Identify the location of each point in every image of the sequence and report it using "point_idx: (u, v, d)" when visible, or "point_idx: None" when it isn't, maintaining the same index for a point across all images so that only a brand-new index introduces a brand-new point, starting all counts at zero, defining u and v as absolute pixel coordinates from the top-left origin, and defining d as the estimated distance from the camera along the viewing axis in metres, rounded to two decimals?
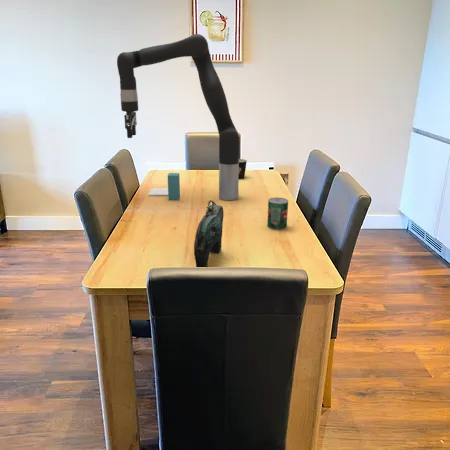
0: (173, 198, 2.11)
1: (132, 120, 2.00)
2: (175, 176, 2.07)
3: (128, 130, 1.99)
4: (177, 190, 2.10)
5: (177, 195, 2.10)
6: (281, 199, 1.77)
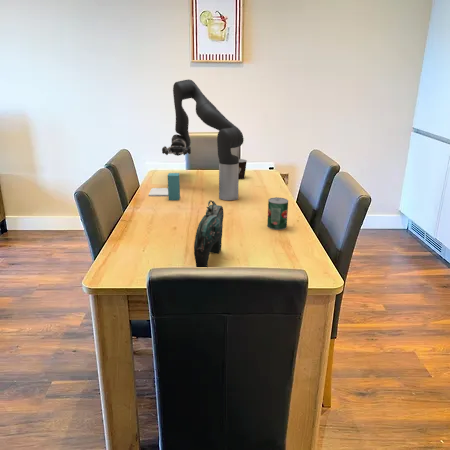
0: (173, 198, 2.11)
1: (170, 147, 2.25)
2: (175, 176, 2.07)
3: (165, 151, 2.21)
4: (177, 190, 2.10)
5: (177, 195, 2.10)
6: (281, 199, 1.77)
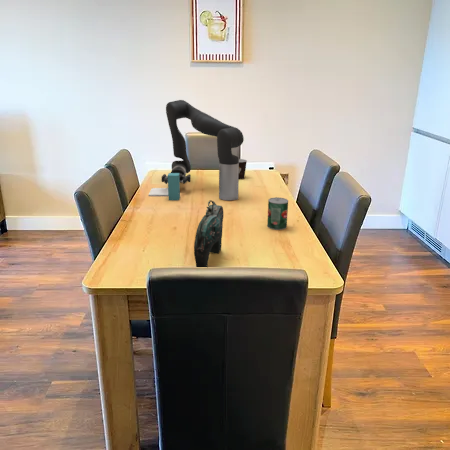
0: (173, 198, 2.11)
1: None
2: (175, 176, 2.07)
3: None
4: (177, 190, 2.10)
5: (177, 195, 2.10)
6: (281, 199, 1.77)
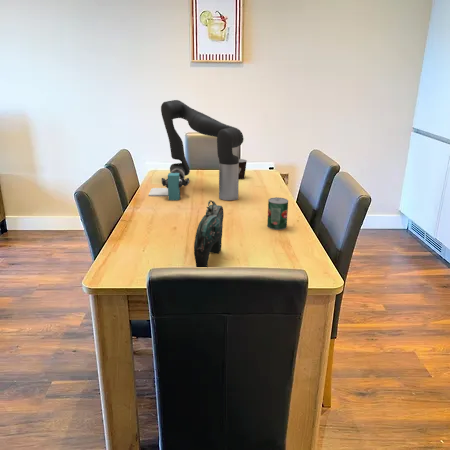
0: (173, 198, 2.11)
1: None
2: (175, 176, 2.07)
3: (165, 184, 2.12)
4: (177, 190, 2.10)
5: (177, 195, 2.10)
6: (281, 199, 1.77)
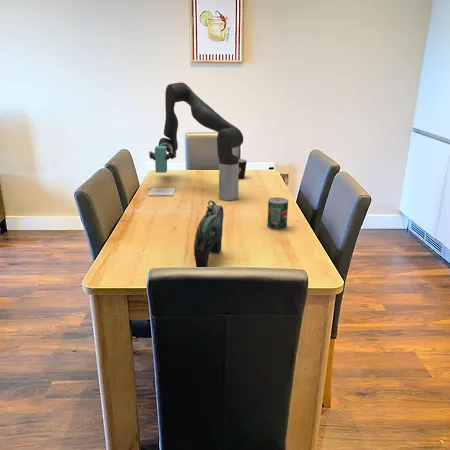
0: (160, 170, 2.16)
1: None
2: (162, 148, 2.13)
3: (153, 157, 2.17)
4: (164, 162, 2.15)
5: (164, 167, 2.16)
6: (281, 199, 1.77)
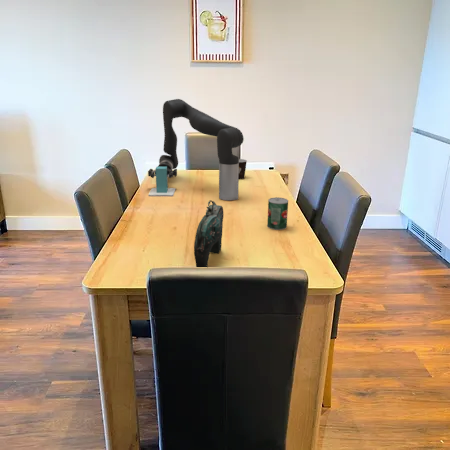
0: (161, 190, 2.20)
1: None
2: (163, 169, 2.16)
3: (151, 174, 2.21)
4: (165, 183, 2.19)
5: (165, 187, 2.20)
6: (281, 199, 1.77)
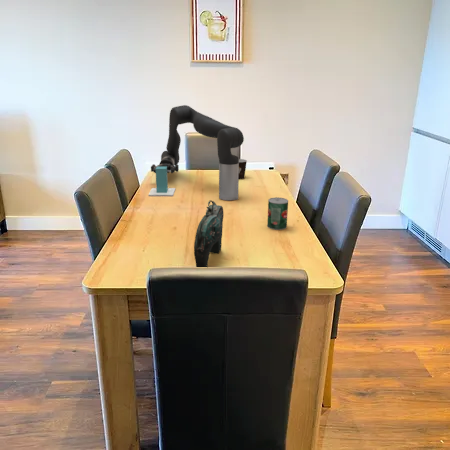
0: (161, 190, 2.20)
1: (159, 165, 2.34)
2: (163, 169, 2.16)
3: None
4: (165, 183, 2.19)
5: (165, 187, 2.20)
6: (281, 199, 1.77)
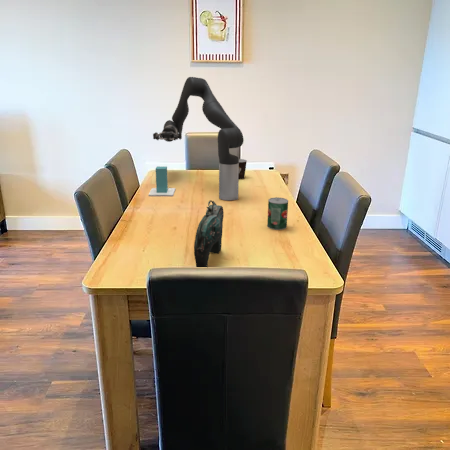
0: (161, 190, 2.20)
1: None
2: (163, 169, 2.16)
3: (156, 137, 2.24)
4: (165, 183, 2.19)
5: (165, 187, 2.20)
6: (281, 199, 1.77)
